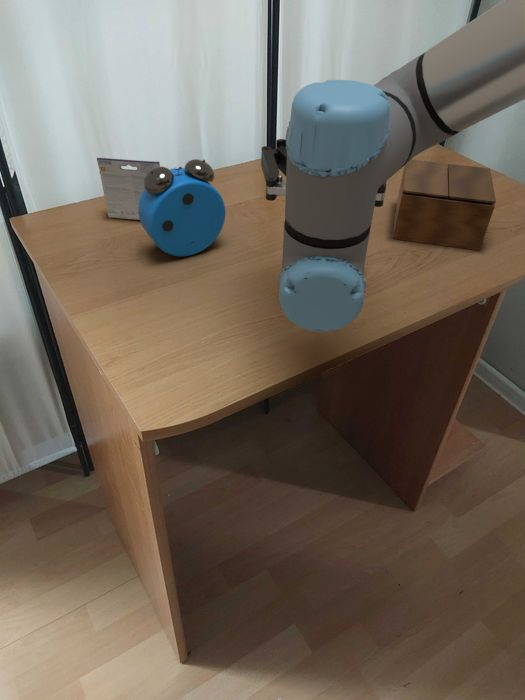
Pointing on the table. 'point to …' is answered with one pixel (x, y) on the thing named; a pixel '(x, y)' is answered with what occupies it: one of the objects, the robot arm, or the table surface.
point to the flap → (470, 183)
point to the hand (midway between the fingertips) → (326, 136)
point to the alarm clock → (182, 208)
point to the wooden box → (437, 210)
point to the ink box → (123, 185)
